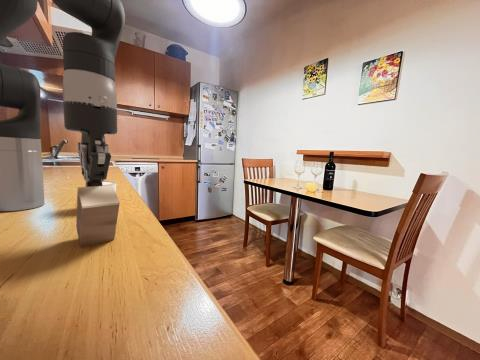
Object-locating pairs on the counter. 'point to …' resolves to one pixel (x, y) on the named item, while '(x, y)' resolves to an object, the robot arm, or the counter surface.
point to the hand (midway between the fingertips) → (94, 201)
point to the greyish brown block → (96, 214)
